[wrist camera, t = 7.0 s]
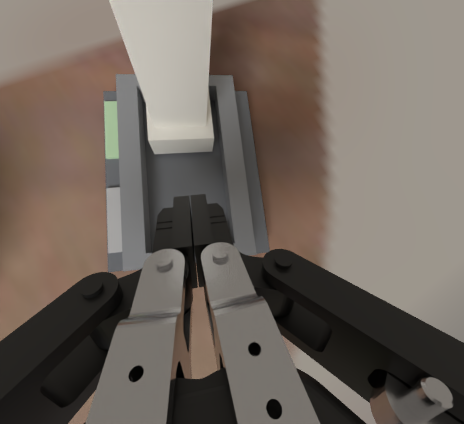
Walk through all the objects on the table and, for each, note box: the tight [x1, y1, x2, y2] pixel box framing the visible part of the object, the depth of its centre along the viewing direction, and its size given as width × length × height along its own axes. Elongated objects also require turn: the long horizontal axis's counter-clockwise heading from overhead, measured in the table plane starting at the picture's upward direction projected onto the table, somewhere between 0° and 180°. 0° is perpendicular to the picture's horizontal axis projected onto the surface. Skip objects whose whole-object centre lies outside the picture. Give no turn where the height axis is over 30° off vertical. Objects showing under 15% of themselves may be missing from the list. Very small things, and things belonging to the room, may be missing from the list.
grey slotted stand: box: [104, 74, 270, 272], centre depth 15 cm, size 10×12×3 cm
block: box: [109, 0, 214, 154], centre depth 11 cm, size 4×4×9 cm
